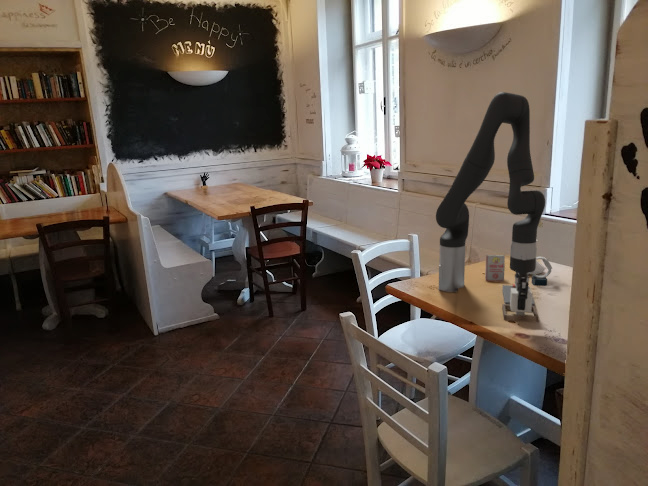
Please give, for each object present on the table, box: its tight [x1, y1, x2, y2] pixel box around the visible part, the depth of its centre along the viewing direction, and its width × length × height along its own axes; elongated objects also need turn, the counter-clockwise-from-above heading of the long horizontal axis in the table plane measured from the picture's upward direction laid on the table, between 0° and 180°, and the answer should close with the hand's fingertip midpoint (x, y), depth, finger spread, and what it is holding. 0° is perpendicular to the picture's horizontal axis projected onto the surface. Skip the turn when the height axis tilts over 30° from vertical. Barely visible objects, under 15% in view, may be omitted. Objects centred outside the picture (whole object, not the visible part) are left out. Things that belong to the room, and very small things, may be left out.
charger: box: [510, 288, 533, 316], centre depth 162 cm, size 6×5×8 cm
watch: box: [531, 255, 553, 287], centre depth 191 cm, size 6×8×11 cm
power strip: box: [501, 283, 536, 307], centre depth 175 cm, size 9×17×4 cm, turn 164°
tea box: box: [484, 254, 506, 282], centre depth 199 cm, size 4×7×10 cm, turn 76°
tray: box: [501, 303, 540, 323], centre depth 162 cm, size 10×9×3 cm
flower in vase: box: [527, 219, 546, 275], centre depth 205 cm, size 13×11×25 cm
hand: (520, 306), depth 162 cm, fingers closed on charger, 5 cm apart
